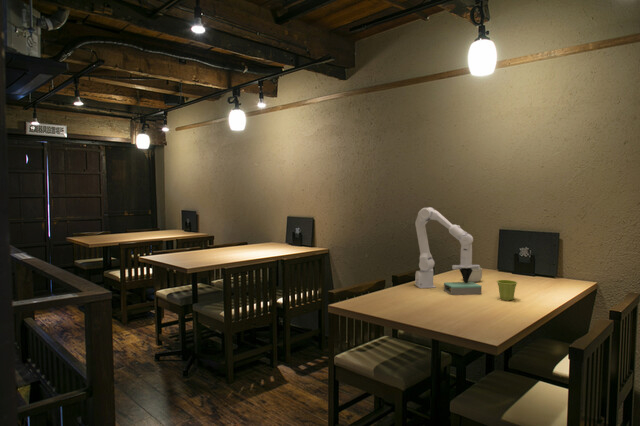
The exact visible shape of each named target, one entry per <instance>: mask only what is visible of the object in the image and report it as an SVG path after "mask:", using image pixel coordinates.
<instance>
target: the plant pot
mask: <svg viewBox="0 0 640 426" xmlns="http://www.w3.org/2000/svg"><path fill="white" fill-rule="evenodd" d="M496 283H497V286H498V291H499V293H498V294H499V299H500V300H501V299H502V300H504V301H510V300H511V301H513V300H514V298H515V292H516V287H517V284H518V282H517V281H515V280H510V279H498V280H496Z"/></svg>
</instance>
